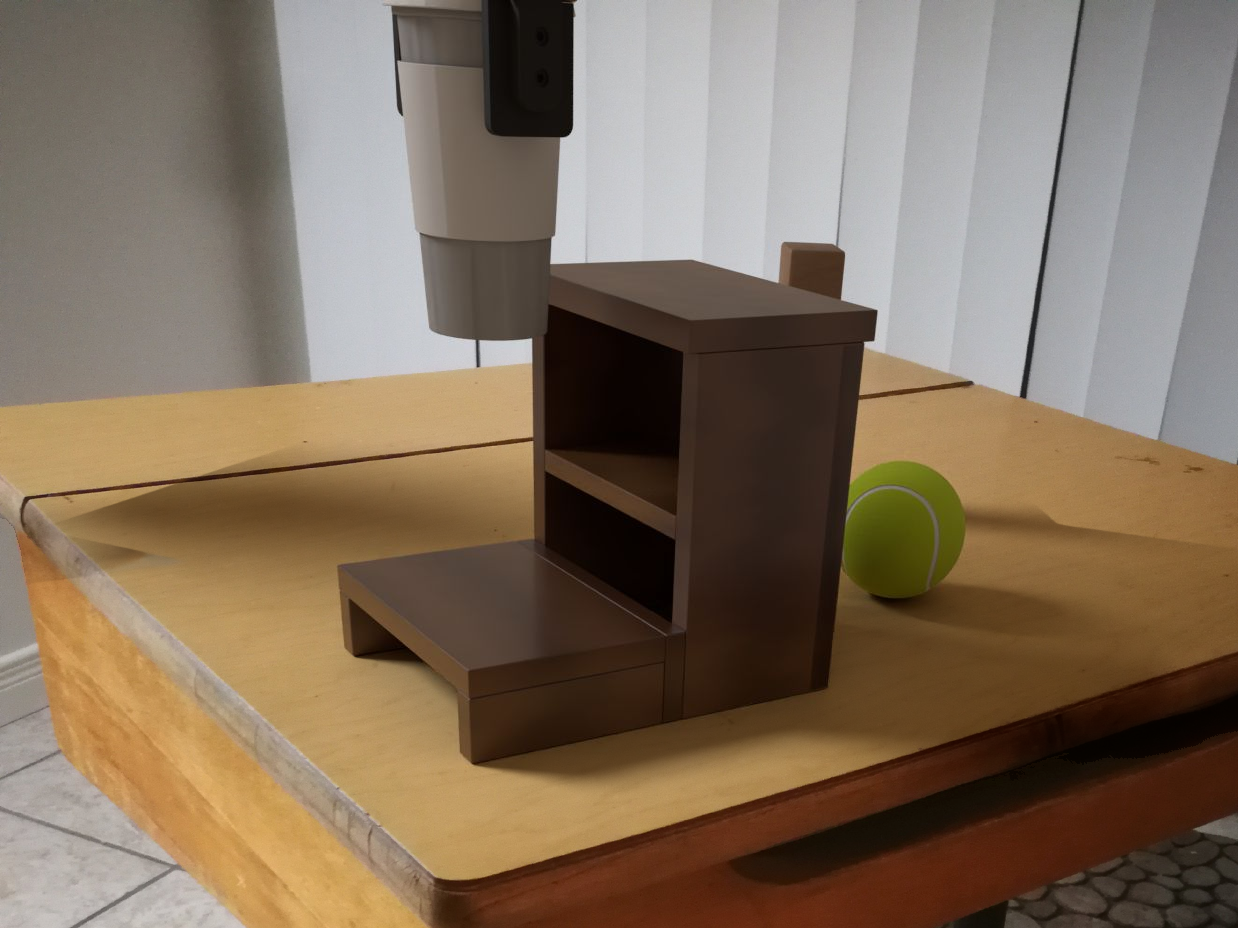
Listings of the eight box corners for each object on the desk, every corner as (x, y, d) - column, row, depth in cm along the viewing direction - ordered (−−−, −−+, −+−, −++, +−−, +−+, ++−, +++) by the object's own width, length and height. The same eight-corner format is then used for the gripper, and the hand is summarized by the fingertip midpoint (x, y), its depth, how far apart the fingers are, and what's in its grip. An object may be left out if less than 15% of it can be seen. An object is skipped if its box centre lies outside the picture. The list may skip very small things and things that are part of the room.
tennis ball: (842, 566, 81) (855, 440, 78) (964, 585, 80) (984, 456, 76) (812, 604, 76) (825, 470, 72) (942, 625, 74) (963, 488, 70)
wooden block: (821, 511, 90) (846, 251, 82) (770, 510, 90) (790, 248, 82) (802, 483, 96) (824, 236, 88) (754, 482, 96) (771, 234, 87)
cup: (463, 308, 60) (451, -35, 54) (604, 327, 58) (609, -27, 52) (364, 332, 55) (338, -47, 48) (516, 354, 53) (510, -39, 46)
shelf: (471, 764, 57) (455, 333, 49) (343, 648, 67) (311, 271, 58) (837, 686, 66) (878, 310, 58) (677, 593, 76) (692, 259, 67)
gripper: (248, -512, 47) (301, 108, 57) (474, -671, 35) (493, 148, 45) (457, -463, 51) (473, 112, 61) (726, -592, 39) (694, 150, 49)
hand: (481, 122), depth 53 cm, fingers closed on cup, 6 cm apart
